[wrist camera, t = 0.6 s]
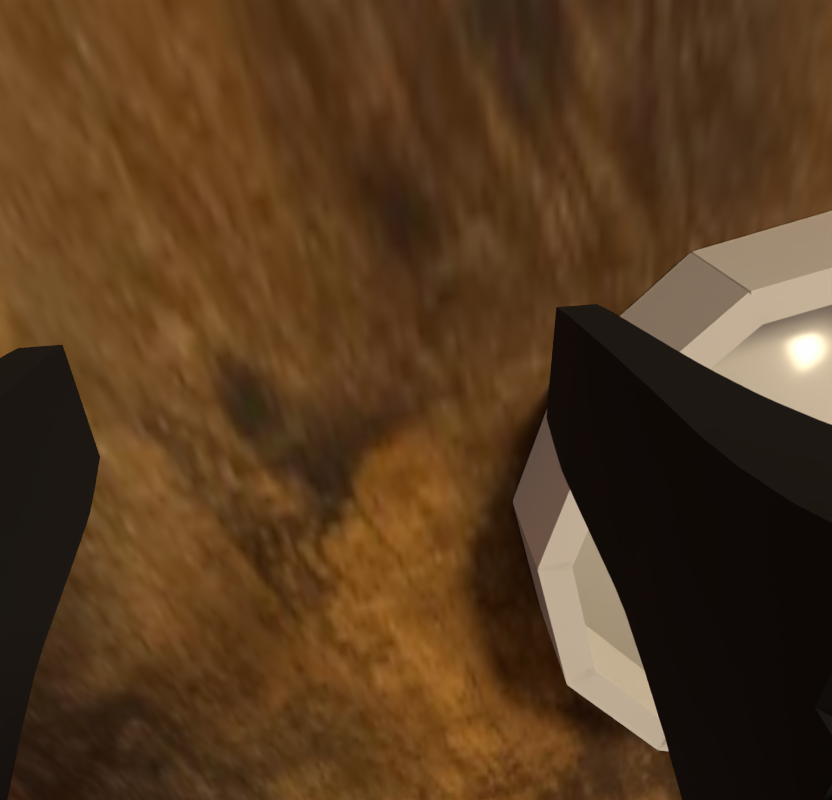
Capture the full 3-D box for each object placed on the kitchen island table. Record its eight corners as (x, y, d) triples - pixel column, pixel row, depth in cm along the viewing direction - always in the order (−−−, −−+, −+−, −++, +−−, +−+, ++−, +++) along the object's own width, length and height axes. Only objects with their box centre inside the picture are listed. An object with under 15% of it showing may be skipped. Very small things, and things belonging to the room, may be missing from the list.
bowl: (879, 704, 32) (939, 779, 29) (456, 651, 28) (471, 730, 25) (1175, 289, 24) (1300, 330, 21) (645, 142, 20) (701, 166, 17)
